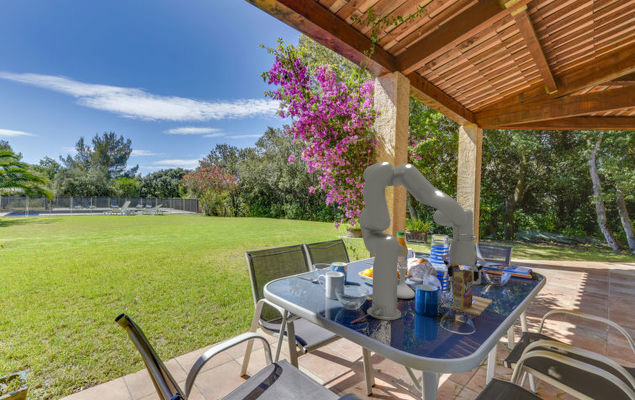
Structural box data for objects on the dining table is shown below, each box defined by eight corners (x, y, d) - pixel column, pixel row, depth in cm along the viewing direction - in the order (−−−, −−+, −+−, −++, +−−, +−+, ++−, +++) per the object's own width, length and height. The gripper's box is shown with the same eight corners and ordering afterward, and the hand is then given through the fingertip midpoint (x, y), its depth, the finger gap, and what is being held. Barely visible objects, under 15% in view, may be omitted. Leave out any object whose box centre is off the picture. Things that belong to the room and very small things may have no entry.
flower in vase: (420, 298, 129) (420, 244, 130) (404, 302, 123) (405, 246, 124) (397, 291, 140) (398, 241, 141) (382, 294, 134) (382, 242, 134)
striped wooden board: (478, 316, 108) (478, 314, 108) (441, 307, 118) (441, 305, 118) (493, 301, 127) (493, 299, 127) (460, 294, 137) (460, 293, 137)
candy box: (463, 310, 112) (463, 273, 113) (452, 307, 115) (452, 271, 116) (473, 306, 117) (473, 270, 118) (463, 303, 121) (463, 268, 121)
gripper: (488, 239, 114) (488, 280, 114) (444, 236, 126) (444, 273, 126) (483, 240, 109) (483, 284, 108) (438, 236, 121) (438, 276, 120)
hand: (462, 278), depth 117 cm, fingers open, 9 cm apart
